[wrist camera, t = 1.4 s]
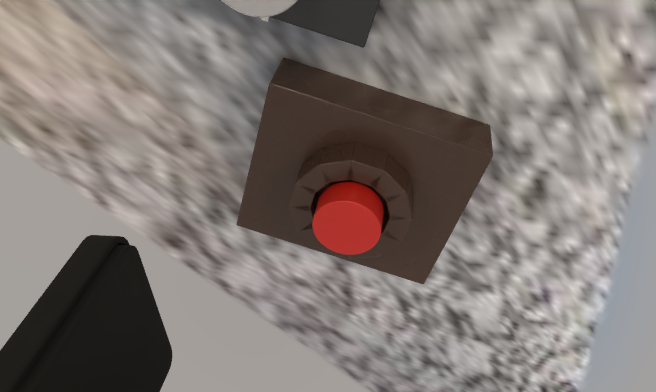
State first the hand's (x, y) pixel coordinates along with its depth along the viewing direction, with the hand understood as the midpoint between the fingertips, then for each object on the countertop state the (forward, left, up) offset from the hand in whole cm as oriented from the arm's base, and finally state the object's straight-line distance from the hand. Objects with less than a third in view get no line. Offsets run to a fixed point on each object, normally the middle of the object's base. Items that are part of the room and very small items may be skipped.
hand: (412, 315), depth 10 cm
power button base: (0, -13, -23) cm, 27 cm away
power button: (0, -13, -19) cm, 23 cm away
